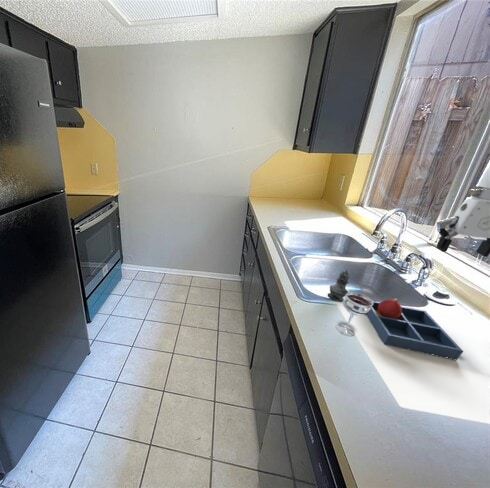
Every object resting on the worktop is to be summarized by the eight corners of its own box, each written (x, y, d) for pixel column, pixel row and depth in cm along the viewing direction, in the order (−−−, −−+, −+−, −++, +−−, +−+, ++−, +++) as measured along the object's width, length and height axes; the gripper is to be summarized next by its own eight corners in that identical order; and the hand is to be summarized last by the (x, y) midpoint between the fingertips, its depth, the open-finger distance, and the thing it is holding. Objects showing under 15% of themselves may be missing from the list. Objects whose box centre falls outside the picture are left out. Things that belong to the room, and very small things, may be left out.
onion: (373, 318, 84) (383, 298, 81) (375, 309, 88) (384, 290, 85) (395, 327, 81) (407, 307, 78) (396, 318, 85) (407, 298, 81)
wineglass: (343, 320, 84) (357, 290, 78) (363, 335, 78) (379, 304, 73) (327, 324, 82) (340, 293, 76) (347, 340, 76) (362, 308, 71)
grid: (420, 318, 86) (425, 310, 85) (456, 360, 71) (463, 351, 70) (361, 307, 90) (365, 299, 89) (383, 344, 75) (388, 335, 74)
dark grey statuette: (323, 292, 98) (333, 265, 92) (338, 293, 98) (350, 265, 92) (332, 302, 92) (343, 273, 87) (348, 302, 92) (361, 274, 87)
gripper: (463, 195, 67) (433, 253, 74) (551, 201, 63) (509, 262, 70) (444, 189, 74) (418, 243, 81) (522, 194, 70) (487, 250, 77)
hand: (460, 252), depth 76 cm, fingers open, 9 cm apart
